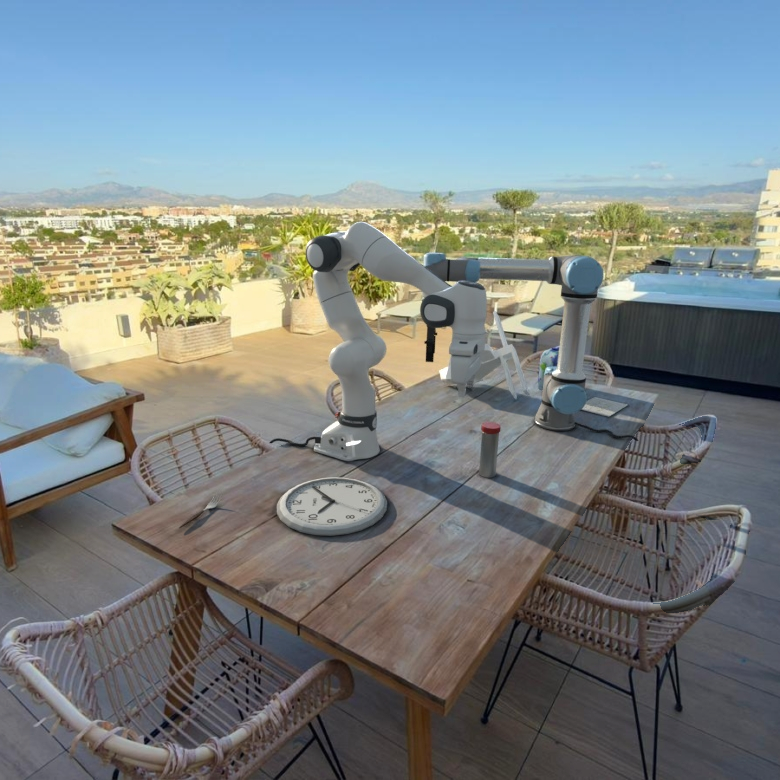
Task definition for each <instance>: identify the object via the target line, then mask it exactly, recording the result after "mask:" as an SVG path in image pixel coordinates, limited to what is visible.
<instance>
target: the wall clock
mask: <svg viewBox="0 0 780 780" xmlns="http://www.w3.org/2000/svg"><path fill="white" fill-rule="evenodd" d="M387 509H388V500H387V498H386V496H385V494H384V493H383V492H382V491H381V490H380V489H379V488H377V487H376V486H374V485H372V484H371V483H369V482H365V481H362V480H359V479H355V478H349V477H338V476H337V477H335V476H333V477H332V476H331V477H322V478H317V479H312V480H307V481H305V482H302V483H299V484H297V485H295V486H293V487H292V488H290V489H288V490H287V491H286V492H285V493H284V494H283V495H281V496H280V498H279V499H278V502H277V503H276V515H277V517H278V518H279V520H280V521H281V522H282V523H283V524H285V525H286V526H287V527H288V528H290V529H293V530H295V531H297V532H299V533H303V534H308V535H312V536H327V537H328V536H329V537H331V536H332V537H333V536H342V535H350V534H352V533H356V532H361V531H363V530H366V529H368V528H369V527H372V526H373V525H375V524H376V523H378V522H379V521H380V520H381V519H382V518H383V517H384V516H385V514H386V512H387Z"/></svg>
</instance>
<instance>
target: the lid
mask: <svg viewBox="0 0 780 780" xmlns="http://www.w3.org/2000/svg"><path fill="white" fill-rule="evenodd" d="M480 430H481V432H482V431H483V432H484V433H488V434H497V433H499V434H500V432H501V424H499V423H498V422H493V421H485V422H483V423H482V424H481V429H480Z"/></svg>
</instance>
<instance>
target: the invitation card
mask: <svg viewBox="0 0 780 780" xmlns="http://www.w3.org/2000/svg"><path fill="white" fill-rule="evenodd" d="M628 406H629V404H627V403H623V402H618V401H614V400H609V399H605V398H601V397H596V396H593V397H592V398H590V399H587V401H586V404H585V406H584V407H583V408H582V409H581V410H580V411H584V412H587V413H593V414H596V415H600V416H604V417H608V418H609V417H611V416H613V415H614V414H616V413H617V412H619V411H621V410H623V409H624V408H626V407H628Z"/></svg>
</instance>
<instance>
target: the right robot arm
mask: <svg viewBox="0 0 780 780" xmlns="http://www.w3.org/2000/svg"><path fill="white" fill-rule="evenodd" d="M422 265H423V266H425V267H426V268H428V269H429V270H430V271H432V272H433V273H434V274H436V275H437V276H438V277H440V278H441V279H442V280H444V281H445V282H446V283H449V282H452V283H453V282H456V283H457V282H459V281H472V282H476V283H479V281H480V280H495V281H497V280H499V281H500V280H501V281H526V282H527V281H531V282H546V283H547V284H548V285H557V286H561V289H560V298H561V299H562V300H563V303H564V305H563V313H562V322H561V330H560V339H559V345H558V346H559V355H558V364H557V366H553V367H547V368H546V369H545V373H544V382H543V390H542V394H541V402H540V405H539V407H538V410H537V411H536V413H535V417H534V424H535V425H536V426H537V427H539V428H542V429H544V430H549V431H556V432H567V431H572V430H574V429H575V428H576V426H578V427H581V428H583V429H587V430H588V431H591V432H595V433H608V434H610V436H611V437H613V438H615V439H628V438H629V439H633V440H634V441H635V442H639V439H638V438H637V437H636V436H635V435H632V434H623V435H618V434H615V433H614V432H613V431H612V430H610V429H603V428H602V429H596V428H593V427H591V426H588V425H586V424H582V423H580V422H577V421H576V418H575V417H576V416H575V414H576V413H579V412H580V411H582V410H581V409H582V408H583V407H584V406H585V404H586V401H588V397H587V392H586V389H585V388H586V383H587V382H586V381H587V375H586V374H585V373H584V371H583V369H584V361H585V355H586V347H587V339H588V338H587V337H588V330H589V324H590V318H591V317H590V316H591V308H592V303H593V302H594V301H596V300H597V298H598V294H599V293H598V291H599V288H601V285H602V284H603V281H604V269H603V267H602V265H601V264H600V262H599V261H597V260H596V259H595V258H594V257H592V256H587V255H581V254H574V255H573V254H572V255H565V256H551V257H549V258H548V259H545V258H544V259H543V258H542V259H541V258H540V259H539V258H501V257H500V258H497V257H496V258H495V257H494V258H492V257H466V256H460V257H457V258H455V259H451V258H449V259H448V258H447V257H446V253H444V252H427V253H425V254H424V255H423V263H422ZM421 293H422V294H421V296H422V299H421V302H422V301H423V299H424V298H425V297H427V295H426V294H424V293H423V292H422V291H421ZM436 336H438V332H437V328H432V327H429V326H427V325H426V340H424V342H423V343H424V344H425V362H426V363H434V359H435V357H434V356H435V353H436V338H437V337H436Z"/></svg>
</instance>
